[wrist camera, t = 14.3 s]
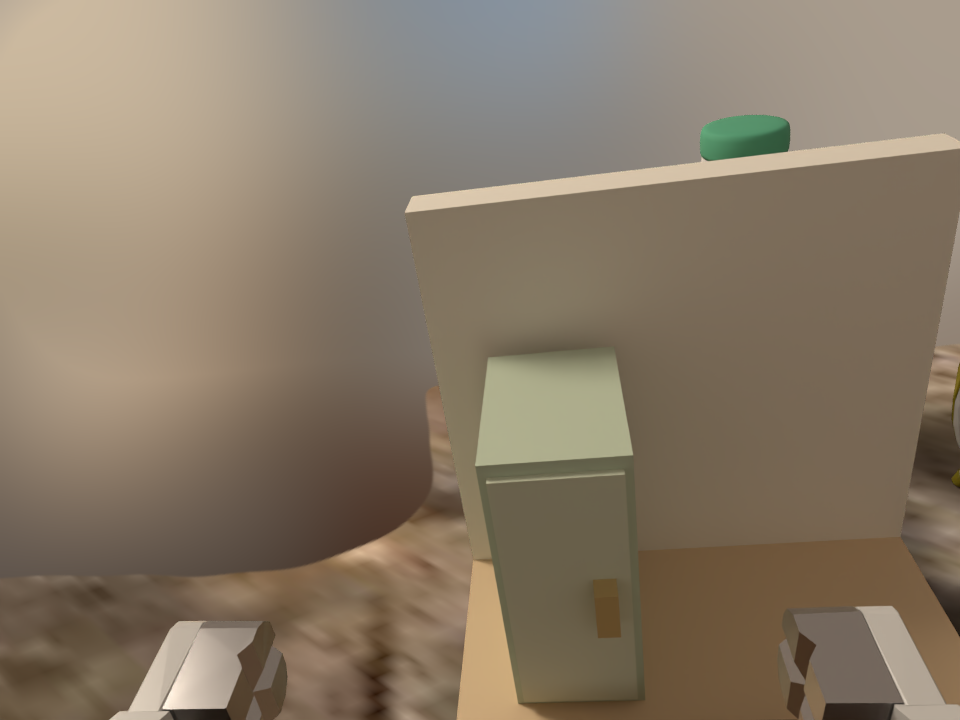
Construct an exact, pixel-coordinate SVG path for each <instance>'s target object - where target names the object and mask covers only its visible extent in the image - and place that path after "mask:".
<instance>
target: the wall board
mask: <svg viewBox="0 0 960 720" xmlns="http://www.w3.org/2000/svg"><path fill="white" fill-rule="evenodd" d="M959 212H960V141H958V140H956V139H954V138H952V137H950V136H948V135H946V134H945V133H943V134H934V135H925V136H917V137H909V138H900V139H892V140H884V141H875V142H867V143H858V144H850V145H842V146H833V147H824V148H817V149H807V150H800V151H791V152H782V153H774V154H765V155H757V156H749V157H740V158H732V159H723V160H715V161H706V162H698V163H690V164H681V165H674V166H665V167H656V168H648V169H640V170H632V171H622V172H614V173H605V174H598V175H589V176H580V177H572V178H564V179H555V180H546V181H538V182H530V183H521V184H513V185H504V186H496V187H487V188H479V189H471V190H462V191H454V192H445V193H437V194H429V195H420V196H413V197H412V198H411V200H410V203H409V205H408V207H407V209H406V211H405V217H406V222H407V227H408V232H409V237H410V242H411V247H412V253H413V258H414V262H415V268H416V272H417V278H418V282H419V288H420V293H421V298H422V303H423V308H424V313H425V318H426V323H427V328H428V333H429V338H430V343H431V348H432V353H433V358H434V364H435V368H436V373H437V379H438V384H439V389H440V394H441V399H442V404H443V409H444V414H445V419H446V424H447V429H448V434H449V439H450V444H451V450H452V455H453V460H454V465H455V470H456V475H457V480H458V485H459V490H460V495H461V500H462V505H463V510H464V515H465V520H466V525H467V530H468V535H469V540H470V545H471V551H472V556H473V568H472V578H471V587H470V597H469V607H468V616H467V626H466V636H465V645H464V655H463V665H462V674H461V684H460V694H459V704H458V713H457V720H798V719H797V718H796V717H795V716H794V715H793V714H792V713H791V712H790V711H789V710H787V708H786V705H785V701H784V698H783V695H782V691H781V686H780V682H779V675H778V662H777V658H778V648H779V644H780V643H781V642H783V641H784V640H785V639H786V636H785V633H784V630H783V627H782V620H783V614H784V612H785V611H786V609H787V608H813V607H841V606H853V607H865V606H892V607H893V608H895V609H896V610H897V611H898V612H899V614H900V616H901V618H902V620H903V622H904V624H905V626H906V628H907V630H908V631H909V633H910V635H911V637H912V639H913V641H914V643H915V645H916V647H917V649H918V650H919V652H920V654H921V656H922V658H923V660H924V662H925V664H926V666H927V668H928V669H929V671H930V673H931V675H932V677H933V679H934V681H935V683H936V685H937V687H938V688H939V690H940V692H941V694H942V696H943V698H944V700H945V702H946V704H958V705H959V706H960V637H959V635H958V633H957V632H956V630H955V628H954V627H953V625H952V623H951V622H950V620H949V618H948V616H947V615H946V613H945V611H944V610H943V608H942V606H941V605H940V603H939V601H938V600H937V598H936V596H935V595H934V593H933V591H932V589H931V588H930V586H929V584H928V583H927V581H926V579H925V578H924V576H923V574H922V573H921V571H920V569H919V568H918V566H917V564H916V563H915V561H914V559H913V557H912V556H911V554H910V552H909V551H908V549H907V547H906V546H905V544H904V542H903V541H902V539H901V537H900V536H901V530H902V525H903V519H904V514H905V508H906V503H907V497H908V492H909V486H910V481H911V475H912V470H913V464H914V459H915V453H916V448H917V442H918V437H919V432H920V426H921V421H922V415H923V410H924V404H925V399H926V393H927V388H928V382H929V377H930V371H931V366H932V360H933V355H934V349H935V344H936V338H937V333H938V327H939V322H940V317H941V311H942V306H943V300H944V295H945V289H946V284H947V278H948V273H949V267H950V261H951V256H952V251H953V245H954V240H955V234H956V229H957V223H958V218H959ZM612 346H614V349H615V355H616V360H617V366H618V372H619V377H620V383H621V389H622V394H623V400H624V406H625V411H626V417H627V423H628V428H629V434H630V440H631V445H632V451H633V460H634V480H635V500H636V521H637V541H638V561H639V581H640V602H641V622H642V642H643V662H644V683H645V700H636V701H599V702H562V703H526V704H518V700H517V694H516V689H515V683H514V678H513V672H512V667H511V661H510V656H509V650H508V645H507V639H506V634H505V628H504V623H503V617H502V612H501V606H500V601H499V595H498V589H497V584H496V578H495V573H494V567H493V562H492V556H491V551H490V545H489V540H488V534H487V529H486V523H485V518H484V512H483V507H482V501H481V496H480V490H479V485H478V479H477V474H476V468H475V463H476V455H477V447H478V438H479V430H480V422H481V413H482V405H483V397H484V388H485V380H486V372H487V363H488V357H498V356H510V355H521V354H532V353H544V352H555V351H566V350H578V349H589V348H600V347H612Z"/></svg>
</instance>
